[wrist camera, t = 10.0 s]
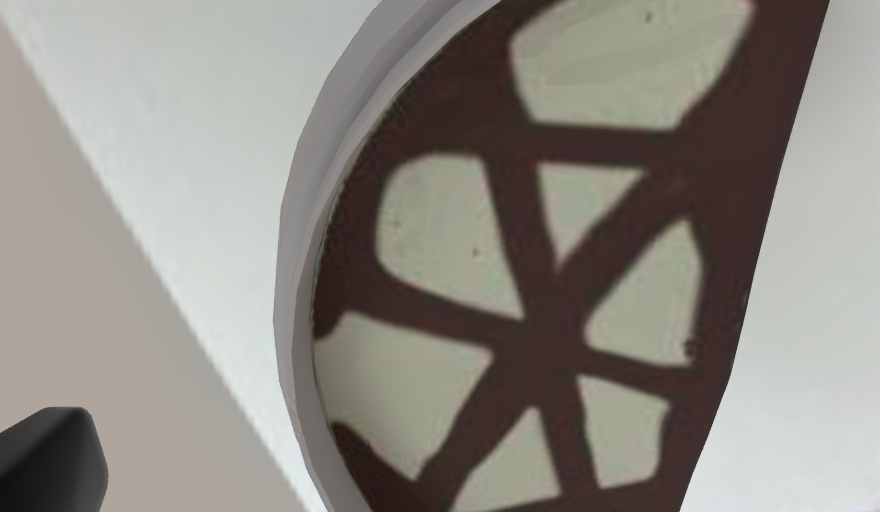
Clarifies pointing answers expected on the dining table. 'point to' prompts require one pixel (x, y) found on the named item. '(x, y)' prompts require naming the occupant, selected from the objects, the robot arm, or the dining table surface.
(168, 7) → the dining table surface
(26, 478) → the robot arm
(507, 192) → the food container
